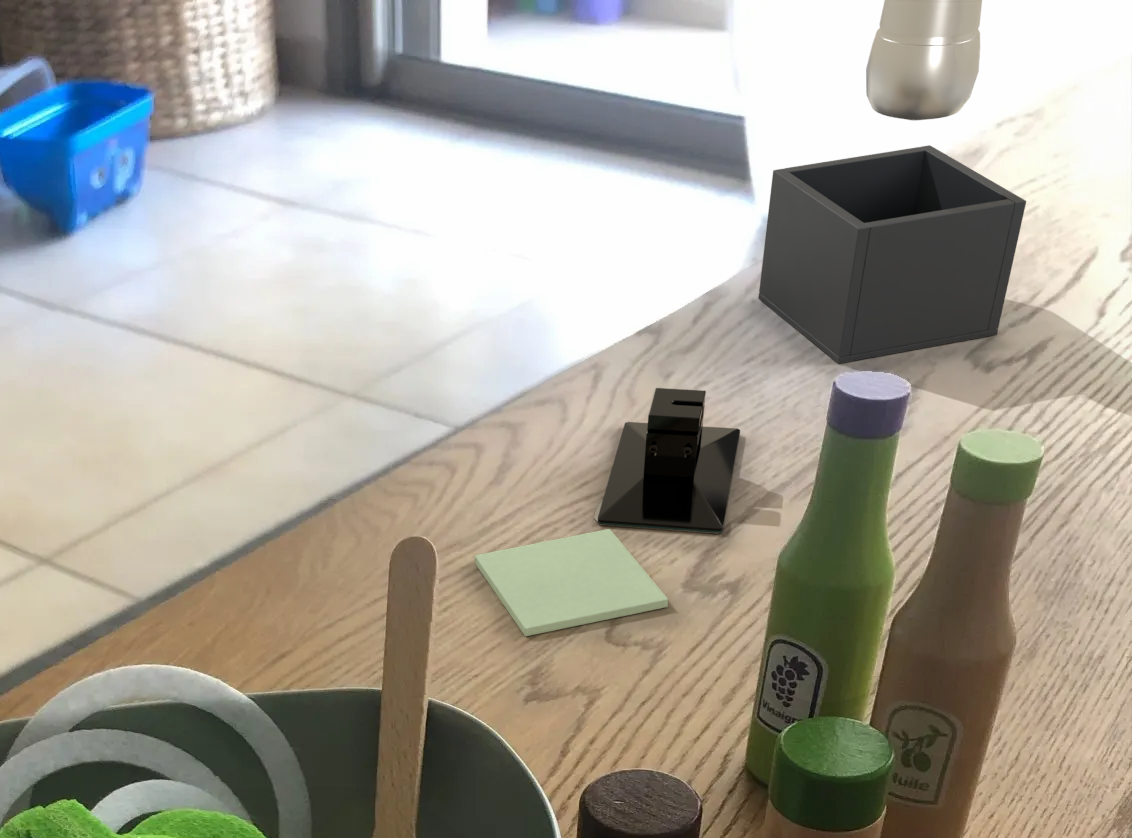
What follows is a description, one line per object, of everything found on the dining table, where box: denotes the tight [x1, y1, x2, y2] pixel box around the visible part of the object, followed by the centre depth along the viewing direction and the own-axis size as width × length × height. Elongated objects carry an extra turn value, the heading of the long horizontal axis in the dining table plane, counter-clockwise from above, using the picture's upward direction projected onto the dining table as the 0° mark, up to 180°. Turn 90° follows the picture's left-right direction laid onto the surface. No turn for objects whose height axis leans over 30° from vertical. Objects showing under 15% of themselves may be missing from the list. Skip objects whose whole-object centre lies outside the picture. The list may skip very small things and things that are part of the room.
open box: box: [757, 145, 1027, 364], centre depth 108 cm, size 12×12×8 cm
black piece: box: [593, 387, 741, 535], centre depth 94 cm, size 12×7×5 cm, turn 167°
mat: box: [474, 528, 669, 637], centre depth 87 cm, size 8×8×1 cm
